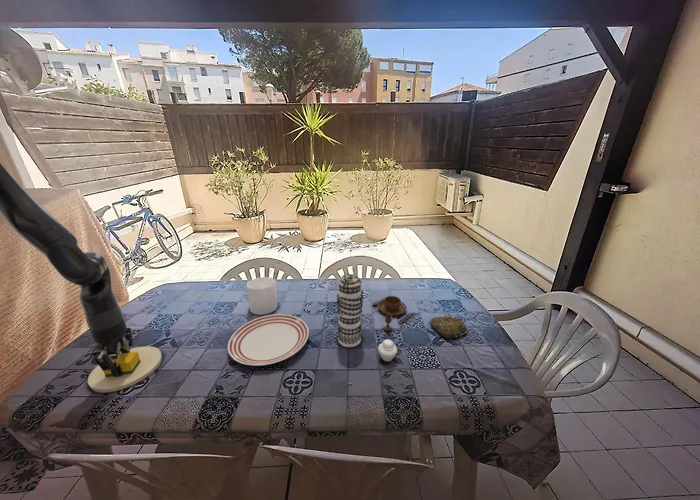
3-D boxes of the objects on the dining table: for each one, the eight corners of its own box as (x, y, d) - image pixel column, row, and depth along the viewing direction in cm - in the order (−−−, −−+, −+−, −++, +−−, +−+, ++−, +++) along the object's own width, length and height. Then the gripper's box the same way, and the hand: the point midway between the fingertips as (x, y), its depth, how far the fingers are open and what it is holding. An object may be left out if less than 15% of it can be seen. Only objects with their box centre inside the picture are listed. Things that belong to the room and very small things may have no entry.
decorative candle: (367, 342, 97) (369, 279, 89) (345, 351, 92) (345, 285, 84) (353, 328, 104) (354, 269, 96) (332, 336, 100) (331, 275, 91)
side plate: (72, 397, 75) (71, 394, 74) (111, 353, 91) (110, 350, 91) (146, 386, 78) (145, 383, 78) (170, 345, 95) (170, 342, 94)
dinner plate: (236, 385, 79) (234, 376, 77) (223, 334, 101) (222, 327, 100) (322, 352, 92) (321, 344, 91) (294, 313, 114) (293, 306, 113)
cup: (246, 305, 120) (243, 281, 116) (272, 298, 126) (270, 274, 122) (254, 318, 111) (250, 292, 107) (281, 309, 117) (279, 284, 113)
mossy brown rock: (442, 341, 98) (443, 329, 96) (426, 321, 109) (427, 310, 107) (473, 336, 100) (476, 325, 98) (455, 317, 111) (457, 307, 110)
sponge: (105, 377, 80) (101, 366, 78) (115, 365, 84) (111, 354, 83) (132, 373, 81) (129, 362, 80) (140, 361, 86) (137, 351, 84)
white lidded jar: (398, 354, 91) (399, 337, 89) (394, 367, 86) (395, 349, 83) (380, 349, 93) (381, 332, 91) (375, 361, 88) (376, 344, 85)
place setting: (417, 312, 115) (418, 300, 113) (389, 333, 102) (390, 319, 100) (384, 297, 127) (384, 286, 125) (355, 315, 113) (355, 302, 111)
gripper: (106, 309, 83) (122, 354, 88) (72, 339, 69) (94, 390, 75) (134, 306, 84) (148, 351, 90) (106, 335, 71) (125, 385, 77)
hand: (123, 368), depth 83 cm, fingers closed on sponge, 5 cm apart
